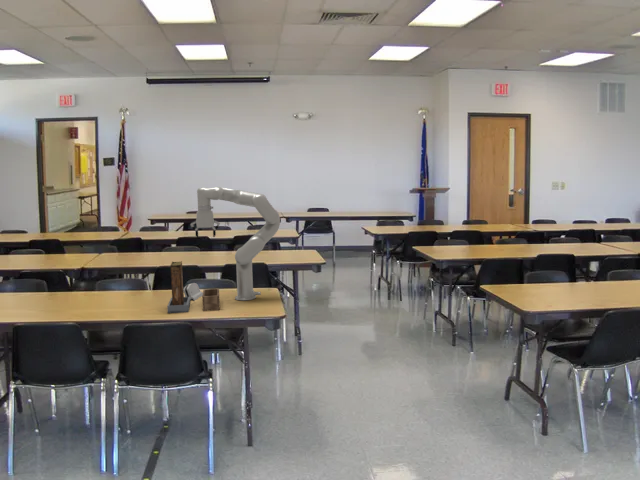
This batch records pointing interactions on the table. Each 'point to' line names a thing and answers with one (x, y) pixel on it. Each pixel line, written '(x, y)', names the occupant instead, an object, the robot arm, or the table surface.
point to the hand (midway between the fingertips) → (205, 237)
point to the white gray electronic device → (192, 291)
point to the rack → (211, 299)
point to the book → (177, 283)
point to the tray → (179, 306)
